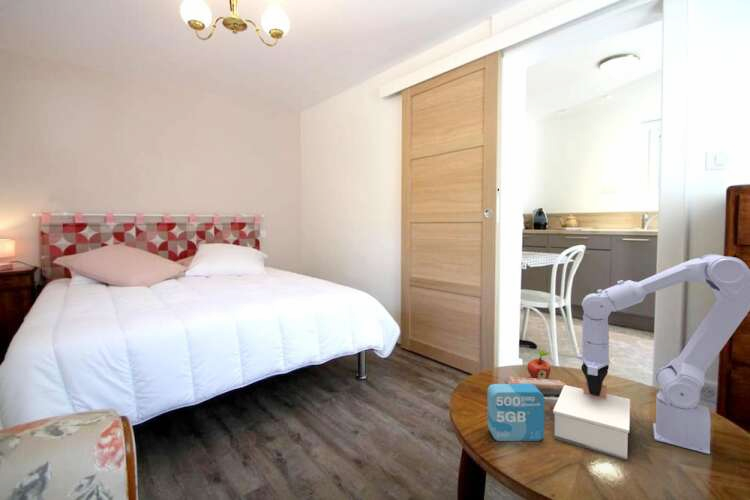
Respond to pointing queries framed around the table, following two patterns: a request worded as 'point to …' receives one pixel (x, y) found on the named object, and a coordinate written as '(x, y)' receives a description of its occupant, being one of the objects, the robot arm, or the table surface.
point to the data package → (515, 412)
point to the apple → (539, 367)
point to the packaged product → (541, 387)
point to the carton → (591, 436)
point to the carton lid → (594, 407)
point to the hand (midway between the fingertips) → (594, 393)
